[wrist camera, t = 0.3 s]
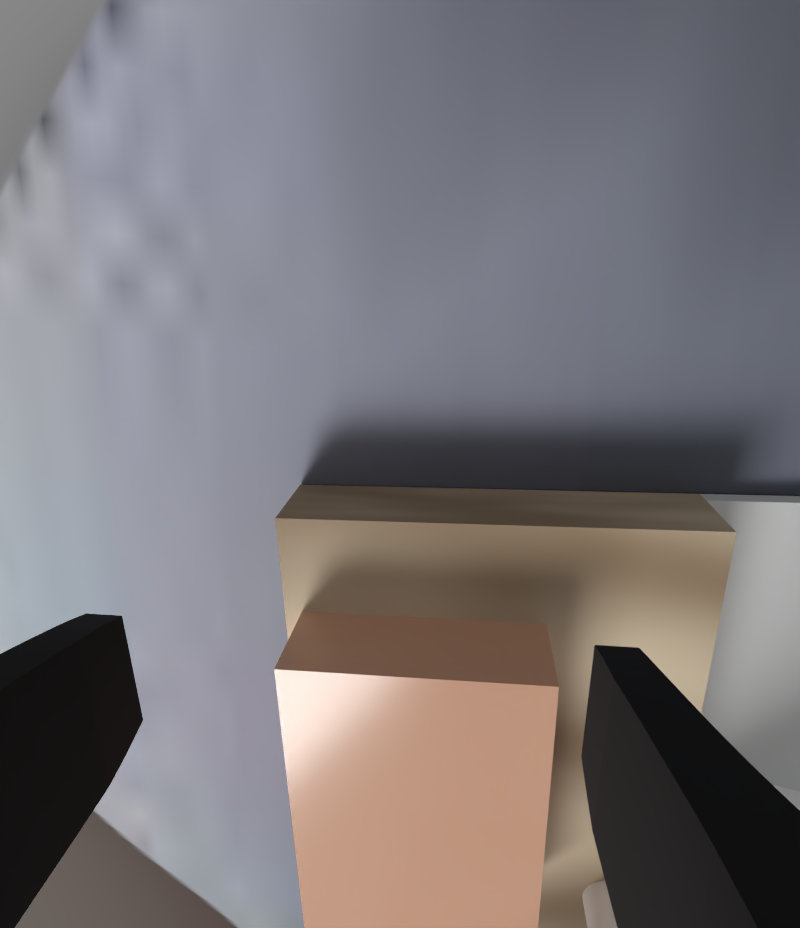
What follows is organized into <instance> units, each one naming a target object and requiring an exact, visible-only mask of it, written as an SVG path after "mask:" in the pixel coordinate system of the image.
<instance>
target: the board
mask: <svg viewBox="0 0 800 928" xmlns="http://www.w3.org/2000/svg"><path fill="white" fill-rule="evenodd" d="M275 520H276V530H277V539H278V549H279V559H280V568H281V578H282V587H283V597H284V606H285V616H286V625H287V635H288V640H289V637H290V635H291V633H292V631H293V629H294V627H295V625H296V623H297V621H298V619H299V616H300V614H301V612H311V613H332V614H352V615H372V616H392V617H413V618H433V619H453V620H474V621H494V622H514V623H534V624H546V625H547V630H548V635H549V640H550V645H551V650H552V655H553V660H554V664H555V669H556V674H557V679H558V684H559V693H558V705H557V716H556V728H555V739H554V751H553V762H552V773H551V785H550V796H549V808H548V819H547V830H546V842H545V853H544V865H543V876H542V888H541V899H540V910H539V922H538V928H587V922H586V916H585V910H584V904H583V898H582V895H583V892H584V890H585V888H586V887H587V886H589V885H590V884H592V883H594V882H598V881H604V880H605V878H604V874H603V871H602V867H601V863H600V859H599V855H598V851H597V847H596V843H595V839H594V835H593V831H592V825H591V819H590V812H589V806H588V800H587V793H586V786H585V779H584V772H583V765H582V758H581V754H582V745H583V737H584V729H585V720H586V712H587V704H588V696H589V687H590V679H591V671H592V662H593V654H594V646H595V645H605V646H621V647H637V648H640V649H641V650H642V651H643V652H644V653H645V654H646V655H647V656H648V657H649V658H650V660H651V661H652V662H653V663H654V664H655V665H656V666H657V667H658V668H659V669H660V670H661V671H662V672H663V673H664V674H665V676H666V677H667V678H668V679H669V680H670V681H671V682H672V683H673V684H674V685H675V686H676V687H677V688H678V689H679V690H680V692H681V693H682V694H683V695H684V696H685V697H686V698H687V699H688V700H689V701H690V702H691V703H692V704H693V705H694V706H695V707H696V708H697V710H698V711H699V712H700V713H702V708H703V702H704V697H705V692H706V687H707V682H708V677H709V671H710V666H711V661H712V656H713V651H714V646H715V641H716V635H717V630H718V625H719V620H720V615H721V610H722V605H723V599H724V594H725V589H726V584H727V579H728V574H729V568H730V563H731V558H732V553H733V548H734V543H735V538H736V531H735V530H734V529H733V528H732V527H731V526H730V525H729V524H728V523H727V522H726V521H725V520H724V519H723V518H722V516H721V515H720V514H719V513H718V512H717V511H716V510H715V509H714V508H713V507H712V506H711V505H710V504H709V503H708V502H707V501H706V500H705V499H704V498H703V497H702V496H701V495H700V494H685V493H642V492H598V491H554V490H511V489H467V488H423V487H380V486H336V485H300V486H299V487H298V489H297V490H296V491H295V493H294V494H293V495H292V497H291V498H290V499H289V501H288V502H287V503H286V505H285V506H284V507H283V509H282V510H281V511H280V513H279V514H278V515H277V517H276V518H275Z"/></svg>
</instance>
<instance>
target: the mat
mask: <svg viewBox="0 0 800 928" xmlns="http://www.w3.org/2000/svg"><path fill="white" fill-rule="evenodd" d="M700 495H701V496H702V497H703V498H704V499H705V500H706V501H707V502H708V503H709V504H710V505H711V506H712V507H713V508H714V509H715V510H716V511H717V512H718V513H719V514H720V515H721V516H722V518H723V519H724V520H725V521H726V522H727V523H728V524H729V525H730V526H731V527H732V528H733V529H734V530H735V531H736V538H735V543H734V548H733V553H732V558H731V563H730V568H729V574H728V579H727V584H726V589H725V594H724V599H723V605H722V610H721V615H720V620H719V625H718V630H717V635H716V641H715V646H714V651H713V656H712V661H711V666H710V671H709V677H708V682H707V687H706V692H705V697H704V702H703V708H702V713H701V714H702V715H703V716H704V717H705V718H706V719H707V720H708V721H709V722H710V723H711V724H712V725H713V726H714V727H715V728H716V729H717V730H718V731H719V732H720V733H721V734H722V735H723V737H724V738H725V739H726V740H727V741H728V742H729V743H730V744H731V745H732V746H733V747H734V748H735V749H736V750H737V751H738V752H739V753H740V754H741V755H742V756H743V757H744V758H745V759H746V760H747V761H748V762H749V763H750V764H751V765H753V766H754V767H755V768H756V769H757V770H758V771H759V772H760V773H761V774H762V775H763V776H764V777H765V778H766V779H767V780H768V781H769V782H770V783H771V784H772V785H775V786H781V787H784V788H788V789H792V790H796V791H799V792H800V496H773V495H729V494H700Z"/></svg>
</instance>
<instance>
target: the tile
mask: <svg viewBox="0 0 800 928" xmlns="http://www.w3.org/2000/svg"><path fill="white" fill-rule="evenodd" d="M274 671H275V680H276V688H277V697H278V705H279V714H280V722H281V731H282V740H283V748H284V757H285V765H286V774H287V782H288V791H289V799H290V808H291V817H292V825H293V834H294V842H295V851H296V859H297V868H298V876H299V885H300V894H301V902H302V911H303V919H304V928H538V922H539V910H540V899H541V888H542V876H543V865H544V853H545V842H546V830H547V819H548V808H549V796H550V785H551V773H552V762H553V751H554V739H555V728H556V716H557V705H558V693H559V684H558V679H557V674H556V669H555V664H554V660H553V655H552V650H551V645H550V640H549V635H548V630H547V625H546V624H534V623H514V622H494V621H474V620H453V619H433V618H413V617H392V616H372V615H352V614H332V613H311V612H301V614H300V616H299V619H298V621H297V623H296V625H295V627H294V629H293V631H292V633H291V635H290V637H289V640H288V642H287V644H286V646H285V648H284V650H283V652H282V654H281V656H280V658H279V661H278V663H277V665H276V667H275V669H274Z"/></svg>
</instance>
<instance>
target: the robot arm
mask: <svg viewBox="0 0 800 928" xmlns="http://www.w3.org/2000/svg"><path fill="white" fill-rule="evenodd" d="M142 721H143V718H142V713H141V708H140V703H139V698H138V693H137V688H136V683H135V678H134V673H133V668H132V664H131V659H130V654H129V649H128V644H127V639H126V634H125V629H124V624H123V619H122V616H115V615H99V614H84V615H82V616H79V617H77V618H74V619H72V620H69V621H67V622H65V623H63V624H60V625H58V626H56V627H54V628H52V629H50V630H48V631H46V632H44V633H42V634H39V635H37V636H35V637H33V638H31V639H29V640H27V641H25V642H23V643H21V644H19V645H17V646H15V647H13V648H11V649H9V650H7V651H5V652H4V653H2V654H0V928H15V926H16V925H17V923H18V922H19V920H20V919H21V917H22V916H23V914H24V913H25V911H26V910H27V908H28V907H29V905H30V904H31V902H32V901H33V899H34V898H35V896H36V895H37V893H38V892H39V891H40V889H41V888H42V886H43V885H44V883H45V882H46V880H47V879H48V877H49V875H50V874H51V873H52V871H53V870H54V868H55V867H56V865H57V864H58V862H59V861H60V859H61V858H62V856H63V855H64V854H65V852H66V850H67V849H68V847H69V846H70V844H71V843H72V842H73V840H74V839H75V837H76V836H77V834H78V833H79V831H80V830H81V828H82V827H83V825H84V823H85V822H86V821H87V819H88V818H89V816H90V815H91V813H92V811H93V810H94V808H95V807H96V805H97V804H98V802H99V801H100V799H101V798H102V796H103V795H104V793H105V792H106V790H107V788H108V787H109V785H110V784H111V782H112V780H113V778H114V776H115V774H116V772H117V771H118V769H119V767H120V765H121V763H122V761H123V759H124V757H125V756H126V754H127V751H128V749H129V747H130V745H131V743H132V741H133V739H134V737H135V735H136V733H137V731H138V729H139V727H140V725H141V723H142ZM581 758H582V765H583V772H584V779H585V786H586V793H587V800H588V806H589V812H590V819H591V825H592V831H593V835H594V839H595V843H596V847H597V851H598V855H599V859H600V863H601V867H602V871H603V874H604V878H605V882H606V886H607V890H608V894H609V898H610V901H611V905H612V909H613V913H614V917H615V921H616V924H617V928H800V810H799V809H798V808H796V807H795V806H794V805H793V804H792V803H791V802H790V801H789V800H788V799H787V798H786V797H785V796H784V795H783V794H782V793H780V792H779V791H778V790H777V789H776V788H775V787H774V786H773V785H772V784H771V783H770V782H769V781H768V780H767V779H766V778H765V777H764V776H763V775H762V774H761V773H760V772H759V771H758V770H757V769H756V768H755V767H754V766H753V765H751V764H750V763H749V762H748V761H747V760H746V759H745V758H744V757H743V756H742V755H741V754H740V753H739V752H738V751H737V750H736V749H735V748H734V747H733V746H732V745H731V744H730V743H729V742H728V741H727V740H726V739H725V738H724V737H723V735H722V734H721V733H720V732H719V731H718V730H717V729H716V728H715V727H714V726H713V725H712V724H711V723H710V722H709V721H708V720H707V719H706V718H705V717H704V716H703V715H702V714H701V713H700V712H699V711H698V710H697V708H696V707H695V706H694V705H693V704H692V703H691V702H690V701H689V700H688V699H687V698H686V697H685V696H684V695H683V694H682V693H681V692H680V690H679V689H678V688H677V687H676V686H675V685H674V684H673V683H672V682H671V681H670V680H669V679H668V678H667V677H666V676H665V674H664V673H663V672H662V671H661V670H660V669H659V668H658V667H657V666H656V665H655V664H654V663H653V662H652V661H651V660H650V658H649V657H648V656H647V655H646V654H645V653H644V652H643V651H642V650H641V649H640V648H637V647H621V646H605V645H595V646H594V654H593V662H592V671H591V679H590V687H589V696H588V704H587V712H586V720H585V729H584V737H583V745H582V754H581Z"/></svg>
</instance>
